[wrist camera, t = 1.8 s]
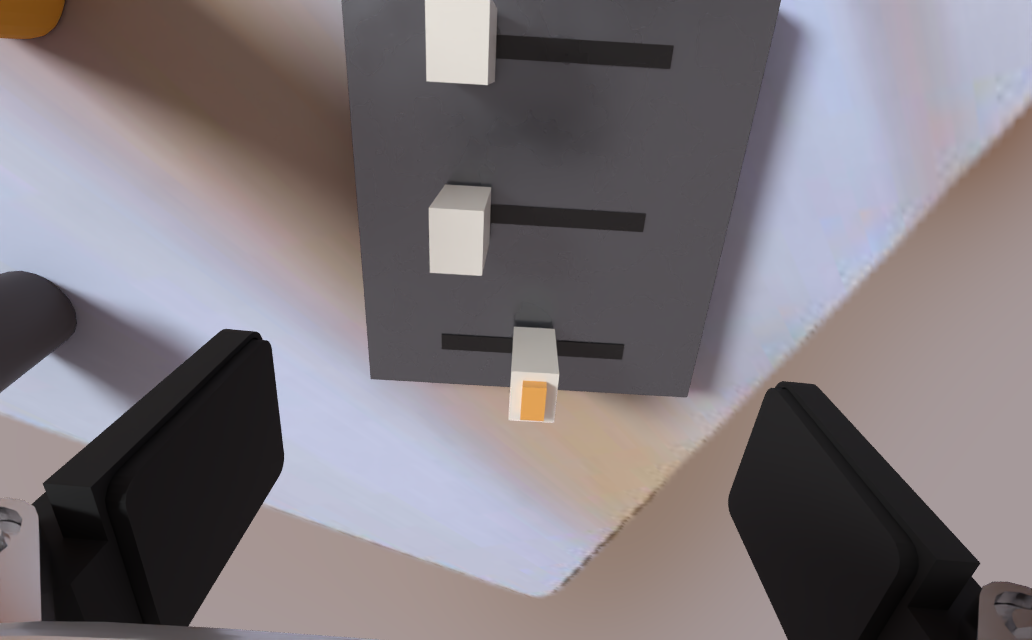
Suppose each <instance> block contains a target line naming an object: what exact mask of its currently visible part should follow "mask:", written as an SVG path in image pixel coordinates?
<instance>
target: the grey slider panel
mask: <svg viewBox="0 0 1032 640" xmlns="http://www.w3.org/2000/svg"><path fill="white" fill-rule="evenodd" d="M493 2H494V4H495V6H496V7H497V35H496V64H495V82H493V83H491V84H489V85H478V84H462V83H446V82H429V81H426V30H425V0H342V12H343V25H344V38H345V51H346V64H347V77H348V90H349V103H350V116H351V129H352V142H353V155H354V168H355V181H356V194H357V207H358V220H359V232H360V245H361V258H362V271H363V284H364V297H365V310H366V323H367V336H368V349H369V362H370V375H371V379H380V380H397V381H415V382H432V383H449V384H466V385H483V386H500V387H510V383H511V366H512V349H513V332H514V327H529V328H546V329H555V337H556V347H557V357H558V367H559V381H558V390H569V391H586V392H604V393H621V394H638V395H655V396H672V397H687V396H688V392H689V387H690V383H691V379H692V375H693V370H694V366H695V362H696V358H697V353H698V349H699V345H700V341H701V337H702V332H703V328H704V324H705V320H706V315H707V311H708V307H709V303H710V298H711V294H712V290H713V286H714V282H715V277H716V273H717V269H718V265H719V260H720V256H721V252H722V248H723V244H724V239H725V235H726V231H727V227H728V222H729V218H730V214H731V210H732V205H733V201H734V197H735V193H736V189H737V184H738V180H739V176H740V172H741V167H742V163H743V159H744V155H745V150H746V146H747V142H748V138H749V134H750V129H751V125H752V121H753V117H754V112H755V108H756V104H757V100H758V95H759V91H760V87H761V83H762V79H763V74H764V70H765V66H766V62H767V57H768V53H769V49H770V45H771V41H772V36H773V32H774V28H775V24H776V19H777V15H778V11H779V7H780V2H781V0H493ZM445 184H446V185H463V186H479V187H491V210H490V239H489V247H488V251H487V256H486V260H485V265H484V270H483V274H482V276H476V275H459V274H442V273H430V256H429V207H430V205H431V204H432V202H433V201H434V200H435V198H436V197H437V195H438V194H439V192H440V191H441V190H442V188H443V187H444V185H445Z"/></svg>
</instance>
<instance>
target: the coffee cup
mask: <svg viewBox="0 0 1032 640" xmlns="http://www.w3.org/2000/svg"><path fill="white" fill-rule="evenodd" d="M76 324H77V322H76V314H75V311H74V309H73V307H72V304H71V302H70V300H69V299H68V298H67V297H66V296H65V294H64V293H63V292H62V291H61V290H60V289H59V288H58V287H56V286H55V285H54V284H52V283H51V282H50V281H49V280H46V279H44V278H42V277H40V276H38V275H36V274H33V273H28V272H24V271H13V272H6V273H2V274H0V393H1V392H2V391H3V390H4V389H6V388H7V387H8V386H9V385H11V384H12V383H13V382H14V381H16V380H17V379H18V378H20V377H21V376H22V375H23V374H25V373H26V372H27V371H28V370H30V369H31V368H32V367H33V366H35V365H36V364H37V363H39V362H40V361H41V360H42V359H44V358H45V357H46V356H47V355H49V354H50V353H51V352H52V351H54V350H55V349H56V348H58V347H59V346H60V345H61V344H63V343H64V342H65V341H66V340H68V339H69V337H70V336H71V335H72V334H73V333H74V331H75V327H76Z"/></svg>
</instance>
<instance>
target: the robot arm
mask: <svg viewBox="0 0 1032 640" xmlns="http://www.w3.org/2000/svg"><path fill="white" fill-rule="evenodd" d="M283 463H284V450H283V441H282V433H281V424H280V416H279V407H278V399H277V390H276V382H275V373H274V364H273V356H272V348H271V345H270V343H269V342H268V341H266V340H262V337H261V335H260V334H259V333H258V332H253V331H242V330H232V329H223V330H222V331H220V332H219V333H218V334H216V335H215V336H214V337H213V338H212V339H211V340H209V341H208V342H207V343H206V344H205V345H204V346H202V347H201V348H200V349H199V350H198V351H197V352H195V353H194V354H193V355H192V356H191V357H190V358H188V359H187V360H186V361H185V362H184V363H183V364H181V365H180V366H179V367H178V368H177V369H176V370H174V371H173V372H172V373H171V374H170V375H169V376H167V377H166V378H165V379H164V380H163V381H162V382H160V383H159V384H158V385H157V386H156V387H155V388H153V389H152V390H151V391H150V392H149V393H148V394H146V395H145V396H144V397H143V398H142V399H141V400H139V401H138V402H137V403H136V404H135V405H134V406H132V407H131V408H130V409H129V410H128V411H127V412H125V413H124V414H123V415H122V416H121V417H120V418H118V419H117V420H116V421H115V422H114V423H113V424H111V425H110V426H109V427H108V428H107V429H106V430H104V431H103V432H102V433H101V434H100V435H99V436H97V437H96V438H95V439H94V440H93V441H92V442H90V443H89V444H88V445H87V446H86V447H85V448H84V449H82V450H81V451H80V452H79V453H78V454H76V455H75V456H74V457H73V458H72V459H71V460H70V461H69V462H67V463H66V464H65V465H64V466H62V467H61V468H60V469H59V470H58V471H57V472H55V473H54V474H53V475H52V476H51V477H50V478H49V479H47V480H46V481H45V482H44V483H43V485H44V488H45V490H46V492H45V493H44V494H43V495H42V496H41V497H39V498H38V499H37V500H36V501H35V502H34V503H33V504H29V503H28V502H26V501H24V500H20V499H13V498H0V640H377V639H363V638H350V637H335V636H322V635H308V634H294V633H281V632H267V631H253V630H239V629H224V628H206V627H188V626H189V624H190V622H191V621H192V619H193V618H194V616H195V614H196V612H197V611H198V609H199V608H200V606H201V604H202V603H203V601H204V599H205V598H206V596H207V594H208V593H209V591H210V589H211V588H212V586H213V584H214V583H215V581H216V580H217V578H218V576H219V575H220V573H221V571H222V570H223V568H224V566H225V565H226V563H227V561H228V560H229V558H230V556H231V555H232V553H233V551H234V550H235V548H236V546H237V545H238V543H239V542H240V540H241V538H242V537H243V535H244V533H245V532H246V530H247V528H248V527H249V525H250V523H251V522H252V520H253V518H254V517H255V515H256V513H257V512H258V510H259V509H260V507H261V505H262V504H263V502H264V500H265V499H266V497H267V495H268V494H269V492H270V490H271V489H272V487H273V485H274V484H275V482H276V481H277V479H278V477H279V475H280V473H281V471H282V468H283ZM728 506H729V512H730V514H731V517H732V519H733V521H734V523H735V526H736V528H737V530H738V532H739V534H740V536H741V539H742V541H743V543H744V545H745V547H746V549H747V552H748V554H749V556H750V558H751V560H752V563H753V565H754V567H755V569H756V571H757V573H758V576H759V578H760V580H761V582H762V584H763V586H764V589H765V591H766V593H767V595H768V597H769V599H770V602H771V604H772V606H773V608H774V610H775V612H776V614H777V617H778V619H779V621H780V623H781V625H782V627H783V630H784V632H785V634H786V636H787V638H788V640H1032V588H1029V587H1026V586H1022V585H1018V584H1015V583H1010V582H991V583H989V584H987V585H985V586H983V587H982V588H981V587H980V586H979V585H978V583H977V582H976V581H975V580H974V579H973V578H972V577H971V576H972V575H973V573H974V572H975V570H976V569H977V567H978V566H979V564H980V563H979V561H978V560H977V559H976V558H975V557H974V556H973V555H972V554H971V552H970V551H969V550H968V549H967V548H966V547H965V546H964V545H963V544H962V543H961V542H960V540H959V539H958V538H957V537H956V536H955V535H954V534H953V533H952V532H951V531H950V530H949V529H948V528H947V526H946V525H945V524H944V523H943V522H942V521H941V520H940V519H939V518H938V517H937V516H936V514H935V513H934V512H933V511H932V510H931V509H930V508H929V507H928V506H927V505H926V504H925V503H924V501H923V500H922V499H921V498H920V497H919V496H918V495H917V494H916V493H915V492H914V491H913V490H912V488H911V487H910V486H909V485H908V484H907V483H906V482H905V481H904V480H903V479H902V478H901V477H900V475H899V474H898V473H897V472H896V471H895V470H894V469H893V468H892V467H891V466H890V465H889V463H887V461H886V460H885V459H884V458H883V457H882V456H881V455H880V454H879V453H878V452H877V450H876V449H875V448H874V447H873V446H872V445H871V444H870V443H869V442H868V441H867V440H866V439H865V437H864V436H862V434H861V433H860V432H859V431H858V430H857V429H856V428H855V427H854V426H853V424H852V423H851V422H850V421H849V420H848V419H847V418H846V417H845V416H844V415H843V414H842V413H841V411H840V410H839V409H838V408H837V407H836V406H835V405H834V404H833V403H832V402H831V401H830V400H829V398H828V397H827V396H826V395H825V394H824V393H823V392H822V391H821V390H820V389H819V388H818V387H817V386H816V385H814V384H806V383H796V382H784V381H782V382H780V383H778V384H777V386H776V387H775V388H770V389H769V390H768V391H767V392H766V394H765V397H764V399H763V402H762V405H761V408H760V410H759V413H758V416H757V419H756V422H755V424H754V427H753V430H752V433H751V436H750V438H749V441H748V444H747V446H746V449H745V452H744V455H743V458H742V460H741V463H740V466H739V469H738V471H737V474H736V477H735V480H734V482H733V485H732V488H731V491H730V494H729V499H728Z"/></svg>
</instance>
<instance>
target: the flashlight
mask: <svg viewBox="0 0 1032 640" xmlns="http://www.w3.org/2000/svg"><path fill="white" fill-rule="evenodd" d="M64 3H65V0H0V38H12V39H31V38H36V37H40V36H44V35H46V34H47V33H48V32H50V31H51V30H52V29H53V28H55V26H56V24H57V23H58V21H59V19H60V17H61V14H62V11H63V7H64Z"/></svg>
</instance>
